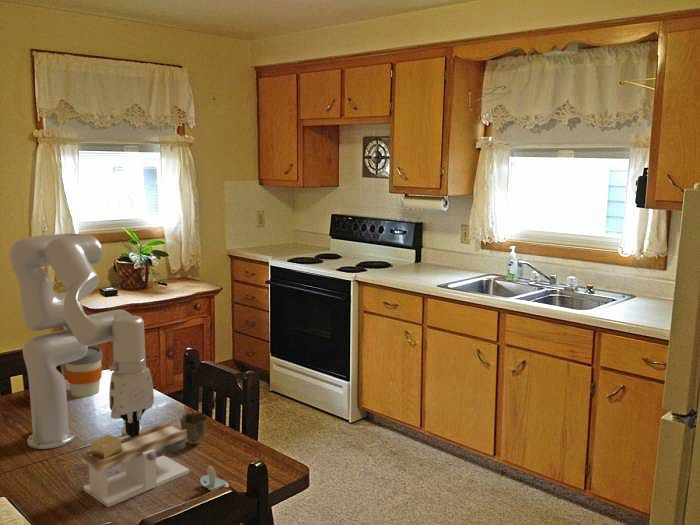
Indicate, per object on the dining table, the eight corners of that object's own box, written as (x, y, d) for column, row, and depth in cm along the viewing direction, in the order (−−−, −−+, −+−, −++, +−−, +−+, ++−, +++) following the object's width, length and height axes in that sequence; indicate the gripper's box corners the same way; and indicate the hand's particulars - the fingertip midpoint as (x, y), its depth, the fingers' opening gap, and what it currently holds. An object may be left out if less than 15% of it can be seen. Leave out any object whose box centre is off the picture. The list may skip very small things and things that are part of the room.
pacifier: (217, 479, 171) (197, 486, 167) (217, 456, 170) (197, 463, 166) (234, 489, 166) (214, 497, 162) (234, 465, 165) (214, 473, 161)
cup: (200, 450, 187) (200, 423, 185) (176, 447, 188) (175, 421, 187) (211, 438, 194) (210, 413, 193) (188, 436, 195) (187, 411, 194)
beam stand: (110, 508, 156) (108, 469, 154) (81, 488, 165) (79, 451, 163) (191, 474, 173) (190, 438, 171) (161, 457, 182) (160, 423, 180)
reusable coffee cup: (80, 402, 221) (77, 359, 218) (58, 394, 228) (55, 352, 225) (112, 391, 231) (109, 350, 229) (89, 383, 238) (87, 343, 235)
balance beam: (98, 483, 156) (97, 463, 155) (82, 472, 161) (80, 452, 160) (187, 448, 175) (186, 429, 174) (170, 439, 180) (169, 421, 179)
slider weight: (91, 457, 160) (90, 441, 160) (109, 449, 164) (108, 434, 164) (104, 462, 158) (103, 447, 157) (122, 454, 162) (121, 439, 161)
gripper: (109, 376, 155) (112, 449, 158) (164, 362, 166) (167, 430, 169) (93, 369, 160) (97, 440, 163) (148, 355, 171) (151, 422, 174)
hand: (132, 435), depth 166 cm, fingers closed
